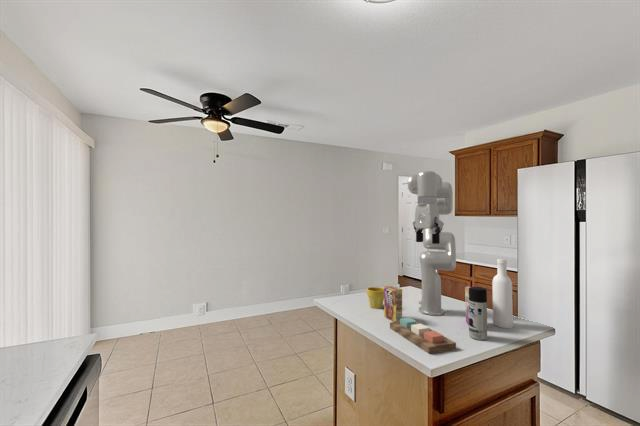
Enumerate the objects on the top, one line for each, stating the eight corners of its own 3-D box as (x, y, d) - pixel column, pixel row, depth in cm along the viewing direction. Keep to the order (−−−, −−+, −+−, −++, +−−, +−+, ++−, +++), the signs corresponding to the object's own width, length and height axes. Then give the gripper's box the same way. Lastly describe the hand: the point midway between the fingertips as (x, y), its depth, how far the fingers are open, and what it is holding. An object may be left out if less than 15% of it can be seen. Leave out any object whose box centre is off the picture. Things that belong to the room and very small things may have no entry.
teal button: (399, 325, 127) (399, 318, 128) (409, 324, 129) (409, 317, 129) (406, 329, 123) (406, 322, 123) (416, 328, 124) (416, 321, 124)
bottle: (513, 329, 127) (512, 261, 128) (492, 326, 131) (491, 259, 132) (512, 324, 134) (511, 259, 134) (492, 320, 138) (491, 257, 139)
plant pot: (388, 305, 162) (388, 288, 162) (381, 310, 153) (381, 292, 153) (371, 303, 167) (371, 286, 168) (363, 307, 159) (363, 289, 159)
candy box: (402, 321, 138) (402, 288, 138) (395, 322, 136) (395, 289, 136) (390, 315, 146) (390, 285, 146) (383, 316, 144) (383, 285, 144)
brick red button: (423, 339, 112) (423, 332, 112) (434, 338, 114) (434, 330, 114) (432, 345, 108) (432, 337, 108) (443, 343, 109) (443, 335, 109)
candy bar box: (464, 320, 138) (464, 286, 139) (476, 321, 137) (476, 286, 137) (469, 329, 128) (469, 291, 128) (482, 330, 126) (482, 292, 126)
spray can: (465, 334, 122) (464, 286, 122) (480, 333, 122) (480, 286, 123) (475, 340, 115) (474, 290, 116) (491, 340, 116) (490, 290, 116)
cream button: (411, 332, 120) (411, 325, 120) (421, 330, 121) (421, 323, 122) (418, 336, 115) (418, 329, 115) (429, 335, 117) (429, 327, 117)
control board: (389, 328, 129) (389, 322, 129) (412, 325, 132) (412, 319, 133) (429, 353, 104) (429, 347, 104) (456, 349, 108) (455, 342, 108)
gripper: (406, 202, 127) (406, 241, 127) (434, 199, 111) (434, 244, 110) (420, 203, 130) (420, 241, 129) (450, 200, 113) (450, 244, 113)
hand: (427, 242), depth 120 cm, fingers open, 9 cm apart
